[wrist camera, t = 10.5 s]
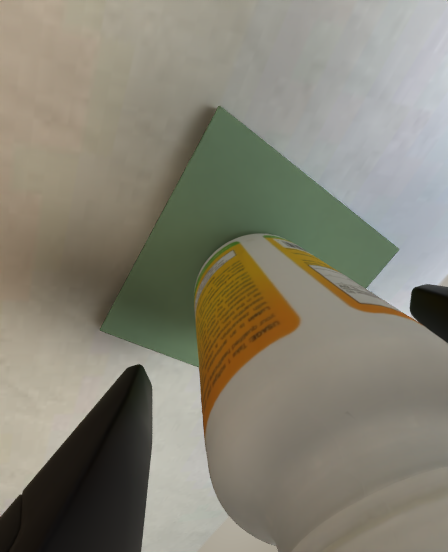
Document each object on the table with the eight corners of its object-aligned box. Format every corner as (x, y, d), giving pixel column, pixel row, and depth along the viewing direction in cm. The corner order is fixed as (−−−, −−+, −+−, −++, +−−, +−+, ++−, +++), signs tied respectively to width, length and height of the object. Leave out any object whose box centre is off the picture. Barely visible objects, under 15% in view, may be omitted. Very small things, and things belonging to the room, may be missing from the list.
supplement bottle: (205, 350, 12) (268, 861, 3) (180, 245, 10) (139, 982, 1) (310, 325, 12) (635, 717, 3) (308, 219, 10) (1178, 548, 1)
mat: (393, 247, 12) (400, 249, 11) (272, 390, 14) (274, 396, 14) (217, 107, 8) (219, 104, 8) (101, 325, 11) (99, 330, 11)
